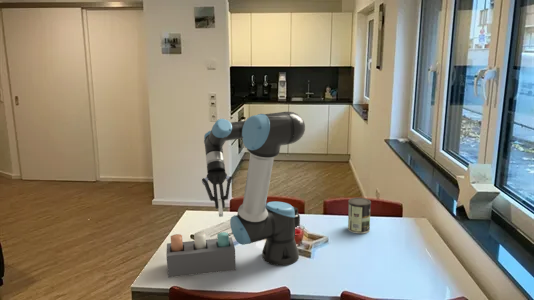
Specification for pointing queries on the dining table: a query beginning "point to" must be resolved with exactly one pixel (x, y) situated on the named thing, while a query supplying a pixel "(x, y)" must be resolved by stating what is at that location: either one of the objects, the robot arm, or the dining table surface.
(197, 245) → the cream button
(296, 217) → the supplement bottle
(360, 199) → the coffee can
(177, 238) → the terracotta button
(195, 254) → the button console
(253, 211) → the robot arm
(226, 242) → the teal button
